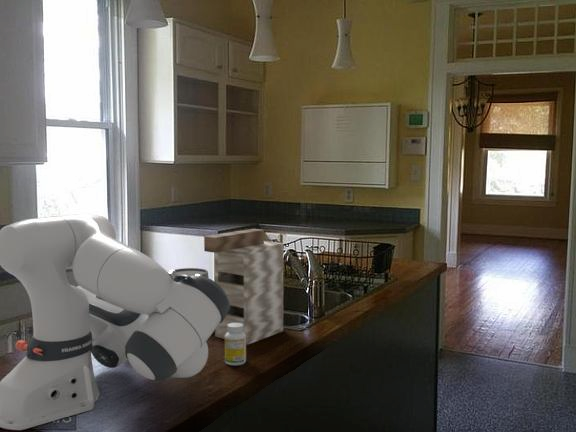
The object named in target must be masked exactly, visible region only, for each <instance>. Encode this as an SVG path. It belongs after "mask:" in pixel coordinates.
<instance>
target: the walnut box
mask: <svg viewBox="0 0 576 432" xmlns="http://www.w3.org/2000/svg"><path fill="white" fill-rule="evenodd" d="M203 237H204V238H203V239H204V240H203V244H204V245H203V246H204V248H203V249H204V252H206V253H207V252H208V253H214V254H215V253H217V252H222V251H228V250H233V249H238V248H244V247H249V246H254V245H260V244H264V241H265V229H261V228H260V229H259V228H251V229H249V228H248V229H244V230H243V229H242V230H235V231H230V232H229V231H228V232H223V233H217V234H210V235H204V236H203Z"/></svg>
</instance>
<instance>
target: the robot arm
mask: <svg viewBox="0 0 576 432" xmlns="http://www.w3.org/2000/svg"><path fill="white" fill-rule="evenodd" d="M0 267H1V268H2V269H4V271H5V272H7V273H8V274H10V275H13V276H14V277H15V278H16V279H17V280H18V281H20V283H21V284H22V286H23V287H24V289H25V290H26V292H27V295H28V297H29V301H30V306H31V313H32V314H31V315H32V327H33V328H32V329H33V335H32V336H31V338H30V341H29V343H28V342H27V341H24V340H22V339H19V340H17V341H16V343H15V349H16V350H18V351H21V352H26V353H25V357H24V358H23V359H22V360H21V361H20V362H18V363H17V365H16V366H14V368H13V369H11V371H10V372H9V373H7V374H6V376H4V377H3V378H2V379H1V380H0V428H2V429H4V430H11V431H23V430H27V429H30V428H34V427H37V426H41V425H44V424H47V423H51V422H53V421H57V420H61V419H65V418H67V417H70V416H74V415H78V414H81V413H85V412H88V411H92V410H93V409H95V404H96V401H97V400H98V399H99V397H100V395H101V392H100V390H99V388H98V385H97V381H96V377H95V371H94V366H93V358H94V359H95V361H97V362H98V363H99V364H101V365H102V366H104V367H106V368H111V369H115V368H118V367H119V366H121V365H122V364H124V363H125V362H126V361H128V363H129V364H130V366H131V368H132V369H133V370H134V372H136V373H137V374H138V375H139V376H141V377H143V378H145V379H147V380H149V381H151V382H163V381H166V380H168V379H169V378H177V379H181V378H183V379H186V378H192V377H193V376H194V377H195V376H197V374H199V373H200V372H201V371H202V370H203V368H205V365H206V363H207V362H208V358H209V345H208V343H207V341H208V339H209V338H210V337H211V335H213V333H215V329H216V328H217V326H218V325H219V324H220V323H222V322H223V320H224V319H225V317H226V315H227V313H228V311H229V308H230V304H229V299H228V297H227V295H226V293H225V291H224V290H223V289H222V288H221V287H220V286H219V285H218V284H217V283H216V282H215V280H213V279H212V278H207V277H203V276H202V275H200V274H196V275H193V276H188V275H184V274H182V275H178V276H177V272H176V270H175V269H172V268H171V269H169V270H168V271H167V270H166V269H165V268H164V267H163V266H162V265H161V264H159V263H158V262H157V261H156V260H154V259H152V258H151V257H150V256H148V255H146V254H145V253H143V252H141V251H139V250H137V249H135V248H133V247H131V246H129V245H127V244H126V243H123V242H121V241H119V240H117V234H116V230H115V228H114V226H113V224H112V223H111V221H110V220H109V219H108V218H107V217H106V216H104V215H102V216H101V215H97V214H87V213H78V214H67V215H59V216H54V215H53V216H47V217H46V216H45V217H35V218H26V219H23V220H20V221H19V220H18V221H16V222H13V223H10V224H8V225H5V226H3V227H1V229H0ZM68 269H69V270H72V275H73V277H74V280H75V282H76V284H77V285H76V286H75V285H73V284H70V283H69V281H68V277H67V270H68ZM174 278H175V279H174ZM172 279H174V281H173V280H172ZM92 356H93V358H92Z"/></svg>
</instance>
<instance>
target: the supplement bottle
mask: <svg viewBox="0 0 576 432" xmlns="http://www.w3.org/2000/svg"><path fill="white" fill-rule="evenodd" d="M243 329H244V326H243V324H242V323H230V324H228V325H227V330H228V332H227V333H226V334H225V339H224V363H225V364H226V365H228V366H242V365H244V364H245V363H246V362H247V345H246V334H245V333H244V332H242V331H243Z"/></svg>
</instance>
